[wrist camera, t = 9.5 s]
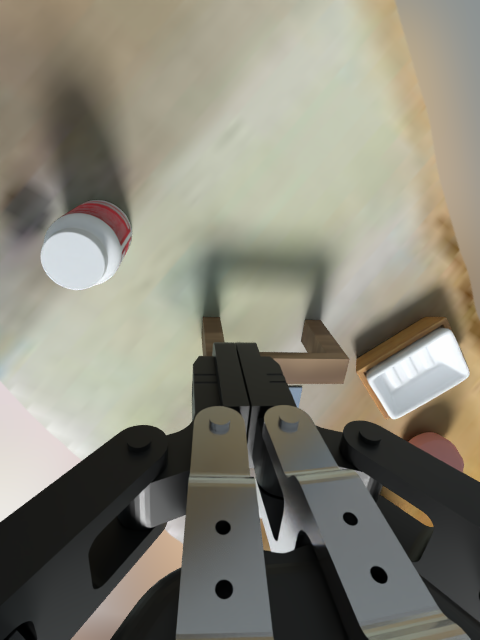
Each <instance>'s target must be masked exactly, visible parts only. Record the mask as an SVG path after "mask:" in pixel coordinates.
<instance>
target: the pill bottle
mask: <svg viewBox="0 0 480 640" xmlns="http://www.w3.org/2000/svg"><path fill="white" fill-rule="evenodd" d="M131 241H132V228H131V224H130V222H129V220H128V218H127V216H126V215H125V213H124V212H123V211H122V210H121V209H120V208H118V207H117V206H115V205H114V204H112V203H109V202H107V201H102V200H91V201H87V202H85V203H82V204H81V205H79V206H77V207H76V208H74V209H73V210H71V211H69V212H68V213H66V214H65V215H63V216H62V217H60V218H58V219H57V220H56V221H54V223H53V224H52V225H51V226H50V227H49V229H48V230H47V232H46V235H45V238H44V245H43V247H42V250H41V263H42V266H43V268H44V271H45V272H46V274H47V275H48V276H49V277H50V278H51V279H52V280H53V281H54V282H55V283H57V284H58V285H60V286H62V287H65V288H68V289H73V290H83V289H87V288H90V287H92V286H94V285H98V284H101V283H103V282H105V281H107V280H108V279H110V278H111V277H112V276H113V275H114V274H115V272H116V271H117V269H118V268H119V266H120V264H121V262H122V260H123V258H124V256H125V254H126V252H127V250H128V249H129V246H130V244H131Z"/></svg>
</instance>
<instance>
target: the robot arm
mask: <svg viewBox="0 0 480 640" xmlns="http://www.w3.org/2000/svg"><path fill="white" fill-rule="evenodd" d="M249 468H254V469H255V474H256V477H255V479H254V477H250V469H249ZM383 486H385V487H386V488H388V489H389V490H391V491H392V492H394V493H395V494H397V495H398V496H400V497H401V498H403V499H405V500H406V501H408V502H409V503H411V504H412V505H414V506H415V507H417V508H418V509H420V510H421V511H423V512H424V513H425V514H426V515H427V516H428V517H429V518H430V519H431V521H432V523H433V526H434V527H428V526H426V525H424V524H422V523H421V522H419V521H418V520H416V519H415V518H413V517H412V516H410V515H409V514H408V513H406V512H405V511H403V510H402V509H400V508H399V507H397V506H396V505H394V504H393V503H391V502H390V501H388V500H387V499H385V498H384V497H383V496H381V495H380V492H381V489H382V487H383ZM258 506H259V508H258ZM259 510H260V513H261V517H262V520H263V524H264V527H265V531H266V534H267V538H268V541H269V545H270V549H271V551H265V550H263V543H262V535H261V526H260V517H259ZM183 515H186V518H185V531H184V543H183V556H182V567H181V568H179V569H177V570H175V571H173V572H171V573H170V574H168V575H167V576H165V577H164V578H162V579H161V580H159V581H158V582H157V583H156V584H155V585H154V586H152V587H151V588H150V589H149V590H148V591H147V592H146V593H145V594H144V595H143V596H142V598H141V599H140V600H139V601H138V602H137V604H136V605H135V606H134V608H133V609H132V610H131V612H130V613H129V614H128V616H127V617H126V619H125V620H124V621H123V623H122V624H121V626H120V627H119V628H118V630H117V631H116V632H115V634H114V635H113V636H112V638H111V639H110V640H480V482H478V481H477V480H475V479H473V478H471V477H469V476H468V475H466V474H464V473H462V472H461V471H459V470H457V469H455V468H453V467H452V466H450V465H448V464H446V463H445V462H443V461H441V460H439V459H437V458H436V457H434V456H432V455H430V454H429V453H427V452H425V451H423V450H421V449H420V448H418V447H416V446H414V445H413V444H411V443H409V442H407V441H405V440H404V439H402V438H400V437H398V436H397V435H395V434H393V433H391V432H389V431H388V430H386V429H384V428H382V427H381V426H379V425H377V424H374V423H371V422H368V421H352V422H350V423H348V424H347V425H346V426H345V427H344V430H343V432H338V431H333V430H328V429H324V428H321V427H318V426H315V424H314V422H313V421H312V419H311V417H310V416H309V415H308V414H307V413H306V412H305V411H303V410H301V409H299V408H297V406H296V403H295V401H294V399H293V396H292V394H291V391H290V389H289V386H288V384H287V383H286V379H285V377H284V375H283V372H282V370H281V367H280V365H279V364H278V363H277V362H276V361H275V360H274V359H273V358H272V357H270V356H260V353H259V350H258V347H257V344H256V343H228V342H214V343H213V352H212V356H199V357H198V358H197V360H196V361H195V362H194V364H193V382H192V422H191V423H190V425H189V426H187V427H186V428H185V429H183V430H181V431H179V432H176V433H173V434H170V435H165V433H164V432H163V431H162V430H160V429H158V428H156V427H153V426H149V425H138V426H133V427H129V428H127V429H125V430H123V431H121V432H120V433H118V434H117V435H116V436H114V437H113V438H112V439H110V440H109V441H108V442H106V443H105V444H104V445H102V446H101V447H100V448H98V449H97V450H96V451H94V452H93V453H92V454H90V455H89V456H88V457H86V458H85V459H84V460H82V461H81V462H80V463H78V464H77V465H76V466H75V467H73V468H72V469H71V470H69V471H68V472H67V473H65V474H64V475H63V476H61V477H60V478H59V479H57V480H56V481H55V482H53V483H52V484H51V485H49V486H48V487H47V488H45V489H44V490H43V491H41V492H40V493H39V494H37V495H36V496H35V497H33V498H32V499H31V500H29V501H28V502H27V503H25V504H24V505H23V506H21V507H20V508H19V509H17V510H16V511H15V512H14V513H12V514H11V515H9V516H8V517H7V518H5V519H4V520H3V521H1V522H0V640H70V639H71V638H72V637H73V636H74V635H75V634H76V632H77V631H78V630H79V629H80V628H81V627H82V625H83V624H84V623H85V622H86V621H87V620H88V618H89V617H90V616H91V615H92V614H93V613H94V611H95V610H96V609H97V608H98V607H99V605H100V604H101V603H102V602H103V601H104V600H105V599H106V597H107V596H108V595H109V594H110V592H111V591H112V590H113V589H114V588H115V587H116V586H117V584H118V583H119V582H120V581H121V580H122V579H123V577H124V576H125V575H126V574H127V573H128V572H129V570H130V569H131V568H132V567H133V566H134V565H135V563H136V562H137V561H138V560H139V558H141V556H142V555H143V554H144V553H145V552H146V550H147V549H148V548H149V547H150V546H151V545H152V543H153V542H154V541H155V540H156V539H157V538H158V536H159V535H160V534H161V533H162V531H163V530H164V529H165V527H166V525H167V522H168V521H171V520H173V519H176V518H178V517H181V516H183Z"/></svg>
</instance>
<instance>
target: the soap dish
mask: <svg viewBox="0 0 480 640" xmlns="http://www.w3.org/2000/svg"><path fill="white" fill-rule="evenodd" d="M356 372H357V374H358V376H359V377H360V379H361V381H362V382H363V384H364V386H365V387H366V389H367V391H368V392H369V394H370V395H371V397H372V399H373V400H374V402H375V403H376V405H377V407H378V408H379V410H380V411H381V413H382V415H383V416H384V418H385V419H386V420H387V419H389V418H392V419H397V418H400V417H401V416H403V415H405V414H407V413H409V412H411V411H412V410H414V409H416V408H418V407H420V406H421V405H423V404H425V403H427V402H428V401H430V400H432V399H434V398H435V397H437V396H439V395H440V394H442V393H444V392H446V391H447V390H449V389H451V388H452V387H454V386H456V385H457V384H459V383H461V382H462V381H464V380H465V379H466V378H468V376H469V368H468V366H467V363H466V361H465V358H464V356H463V353H462V351H461V349H460V347H459V344H458V342H457V340H456V338H455V336H454V333H453V331H452V329H451V327H450V324H449V322H448V320H447V318H446V317H424V318H422V319H420V320H419V321H417V322H416V323H414V324H412V325H411V326H409V327H408V328H406V329H404V330H403V331H401V332H399V333H398V334H396V335H395V336H393V337H391V338H390V339H388V340H386V341H385V342H383V343H381V344H380V345H378V346H377V347H375V348H373V349H372V350H370V351H368V352H367V353H365V354H364V355H362V356H360V357H359V358H357V360H356Z"/></svg>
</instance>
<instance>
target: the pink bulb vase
mask: <svg viewBox="0 0 480 640" xmlns="http://www.w3.org/2000/svg"><path fill="white" fill-rule="evenodd" d="M409 443H411V444H413V445H414V446H416V447H418V448H420V449H421V450H423V451H425V452H427V453H429V454H430V455H432V456H434V457H436V458H437V459H439V460H441V461H443V462H445V463H446V464H448V465H450V466H452V467H453V468H455V469H457V470H459V471H461V472H462V473H463V468H464V463H463V459H462V457H461V455H460V454H459V452H458V450H457V449H456V447H455V446H454V445H453V444H452V443H451V442H450V441H449V440H447V439H445V438H444V437H442V436H441V435H439V434H436V433H433V432H426V433H422V434H419V435H417V436H415V437H414V438H412V439H411V440H410V441H409Z"/></svg>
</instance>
